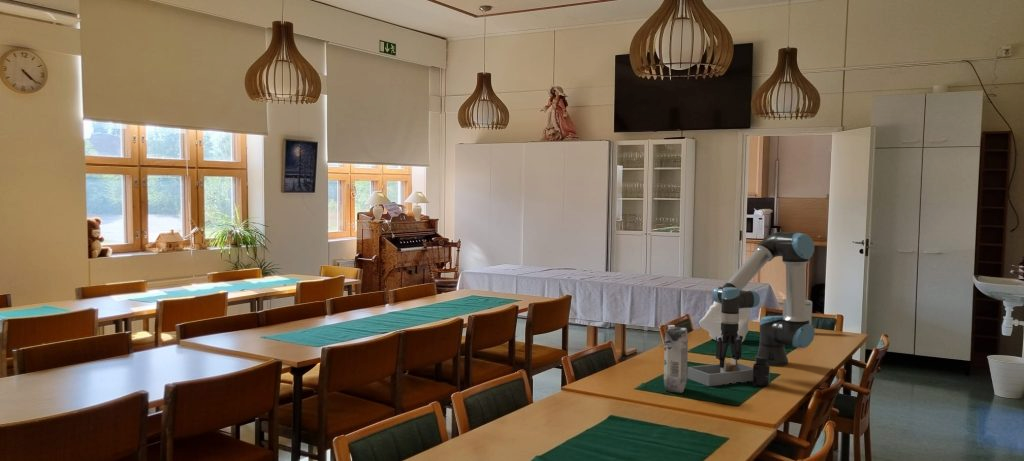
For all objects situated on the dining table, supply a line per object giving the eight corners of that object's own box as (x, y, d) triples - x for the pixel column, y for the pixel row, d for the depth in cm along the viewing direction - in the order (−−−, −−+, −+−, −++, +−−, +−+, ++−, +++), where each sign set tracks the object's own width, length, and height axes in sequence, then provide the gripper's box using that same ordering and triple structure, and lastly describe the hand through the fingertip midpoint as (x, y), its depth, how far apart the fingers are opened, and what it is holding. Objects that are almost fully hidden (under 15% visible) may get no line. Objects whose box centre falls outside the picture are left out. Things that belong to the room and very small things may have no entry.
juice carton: (687, 387, 305) (688, 324, 304) (684, 394, 295) (686, 328, 294) (665, 385, 308) (667, 323, 307) (662, 391, 298) (664, 327, 297)
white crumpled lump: (744, 345, 395) (746, 299, 394) (697, 339, 411) (698, 295, 410) (756, 340, 412) (757, 295, 411) (710, 334, 428) (711, 291, 427)
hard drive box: (784, 333, 435) (785, 300, 434) (781, 331, 442) (782, 298, 442) (811, 334, 432) (812, 301, 431) (808, 332, 440) (809, 299, 439)
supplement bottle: (770, 387, 308) (771, 359, 307) (753, 386, 309) (754, 358, 308) (768, 383, 314) (768, 356, 314) (751, 382, 316) (752, 355, 315)
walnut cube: (728, 373, 325) (729, 362, 325) (736, 376, 320) (736, 364, 320) (719, 374, 323) (720, 363, 323) (727, 377, 318) (727, 365, 318)
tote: (735, 372, 333) (736, 362, 333) (758, 380, 319) (759, 369, 319) (687, 378, 321) (687, 367, 321) (708, 386, 308) (709, 374, 308)
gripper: (739, 320, 328) (738, 370, 329) (708, 322, 320) (706, 374, 321) (751, 322, 321) (749, 374, 322) (719, 324, 313) (717, 377, 314)
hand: (728, 374), depth 322 cm, fingers closed on walnut cube, 5 cm apart
